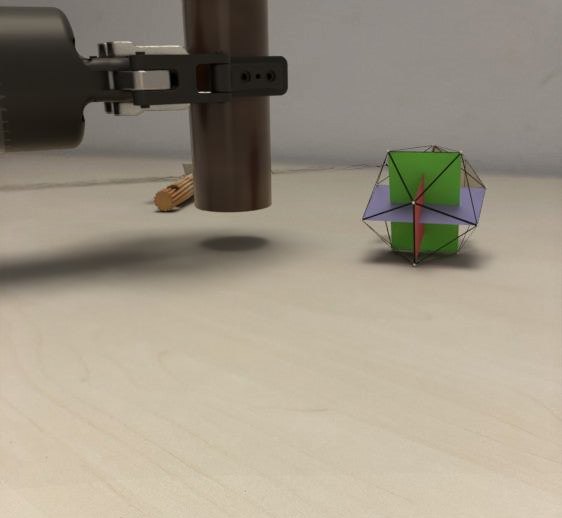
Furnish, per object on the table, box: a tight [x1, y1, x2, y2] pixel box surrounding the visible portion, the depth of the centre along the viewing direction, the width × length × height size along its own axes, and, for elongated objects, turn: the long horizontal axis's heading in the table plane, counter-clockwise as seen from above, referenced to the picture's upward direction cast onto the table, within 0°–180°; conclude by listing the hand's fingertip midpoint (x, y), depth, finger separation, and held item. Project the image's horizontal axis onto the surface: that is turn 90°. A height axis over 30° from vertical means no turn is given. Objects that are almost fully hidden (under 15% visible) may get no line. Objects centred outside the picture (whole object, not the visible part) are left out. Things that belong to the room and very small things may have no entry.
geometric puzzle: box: [360, 143, 488, 267], centre depth 42 cm, size 7×7×8 cm
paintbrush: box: [153, 162, 194, 212], centre depth 68 cm, size 4×3×20 cm
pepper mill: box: [181, 0, 273, 213], centre depth 45 cm, size 5×5×14 cm
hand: (264, 75), depth 45 cm, fingers closed on pepper mill, 5 cm apart
